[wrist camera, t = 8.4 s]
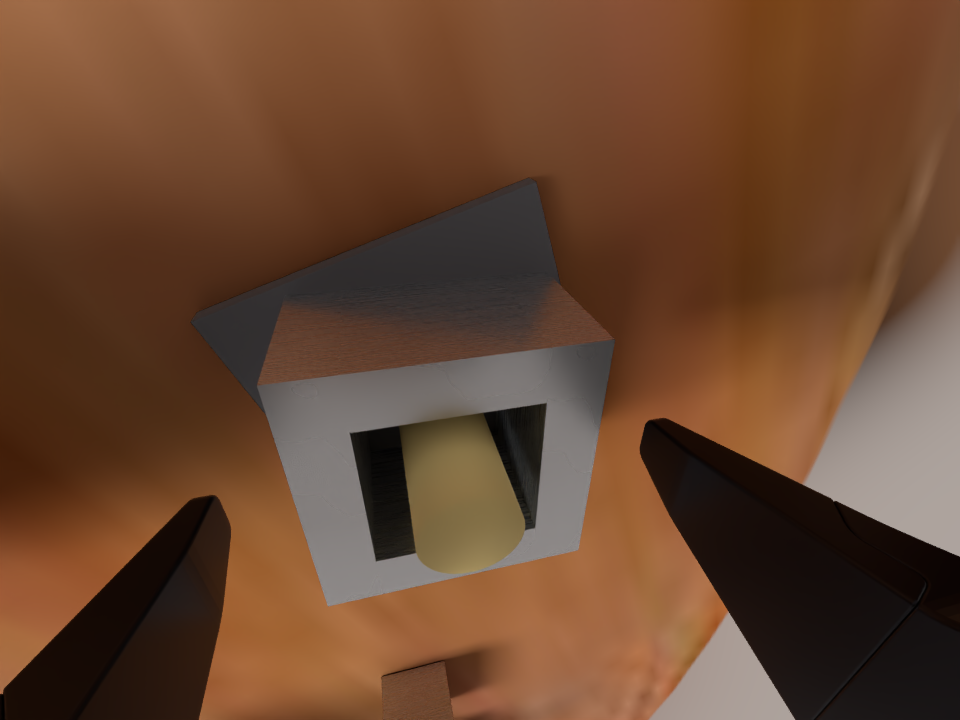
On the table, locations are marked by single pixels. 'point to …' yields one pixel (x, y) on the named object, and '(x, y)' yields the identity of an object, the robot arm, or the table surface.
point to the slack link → (417, 694)
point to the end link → (431, 412)
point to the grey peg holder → (432, 444)
